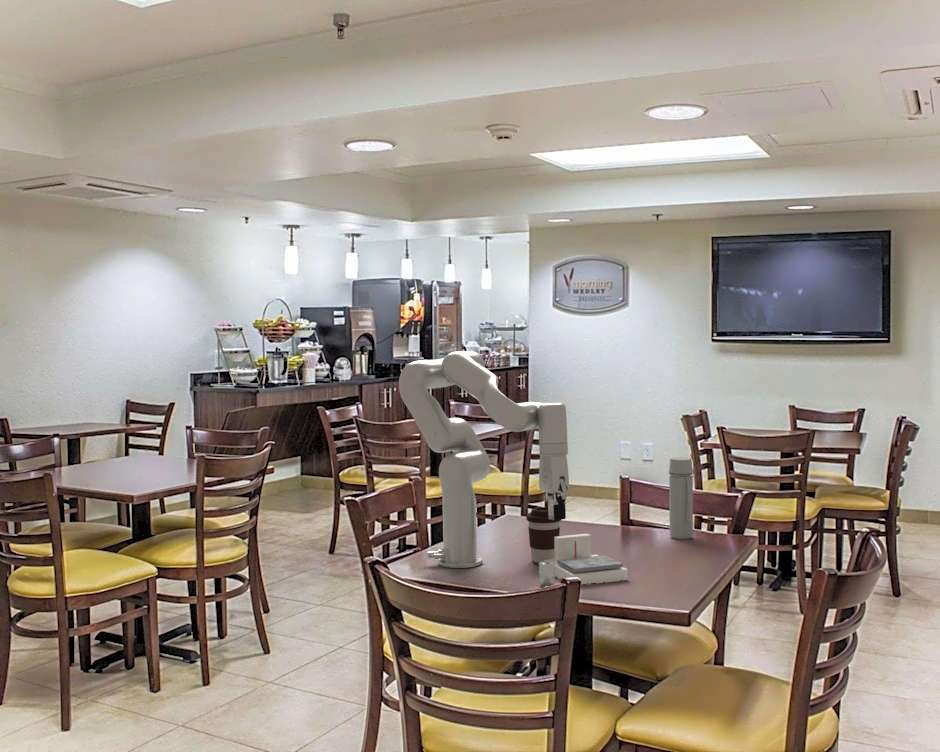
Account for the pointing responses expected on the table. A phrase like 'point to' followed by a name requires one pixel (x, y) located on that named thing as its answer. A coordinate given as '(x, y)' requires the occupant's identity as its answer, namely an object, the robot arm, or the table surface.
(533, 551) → the coffee cup
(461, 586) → the table surface
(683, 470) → the water bottle
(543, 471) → the robot arm
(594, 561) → the grey flat plate
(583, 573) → the scale body
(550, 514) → the glass jar
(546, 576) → the spacer
